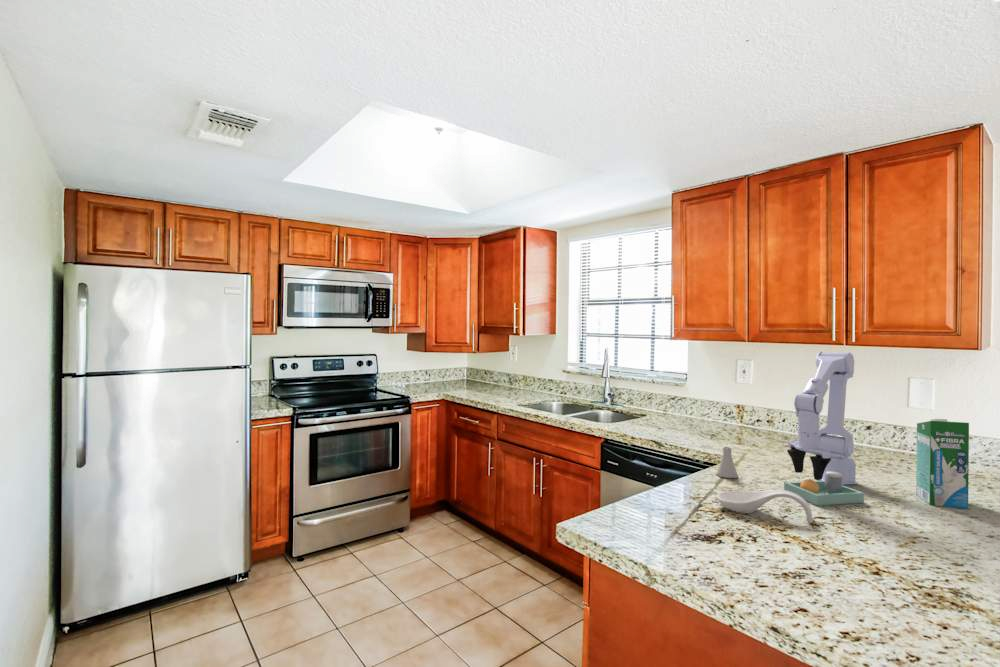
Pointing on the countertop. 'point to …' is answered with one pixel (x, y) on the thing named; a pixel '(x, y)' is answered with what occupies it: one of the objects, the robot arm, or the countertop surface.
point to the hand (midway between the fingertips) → (808, 475)
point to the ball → (810, 486)
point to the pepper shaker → (833, 482)
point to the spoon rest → (757, 500)
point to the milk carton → (943, 463)
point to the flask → (727, 465)
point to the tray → (826, 499)
